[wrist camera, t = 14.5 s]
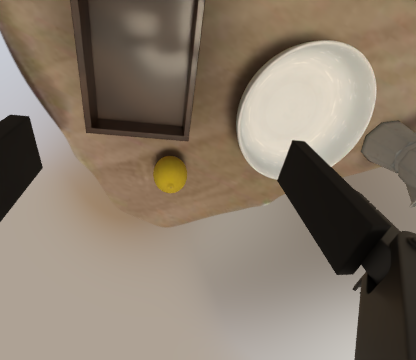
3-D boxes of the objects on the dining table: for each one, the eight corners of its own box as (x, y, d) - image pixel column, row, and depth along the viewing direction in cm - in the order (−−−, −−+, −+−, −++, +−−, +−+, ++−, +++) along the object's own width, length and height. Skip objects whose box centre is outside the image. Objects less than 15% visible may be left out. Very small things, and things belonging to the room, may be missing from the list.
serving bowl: (299, 174, 50) (317, 194, 44) (207, 139, 43) (213, 158, 37) (374, 73, 40) (408, 82, 34) (271, 7, 33) (293, 5, 27)
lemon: (177, 179, 46) (179, 206, 40) (149, 168, 44) (146, 195, 38) (190, 155, 44) (194, 179, 37) (161, 143, 42) (160, 167, 35)
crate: (74, -68, 27) (60, -81, 23) (205, -37, 30) (210, -45, 26) (93, 122, 38) (86, 132, 35) (186, 130, 41) (188, 141, 38)
